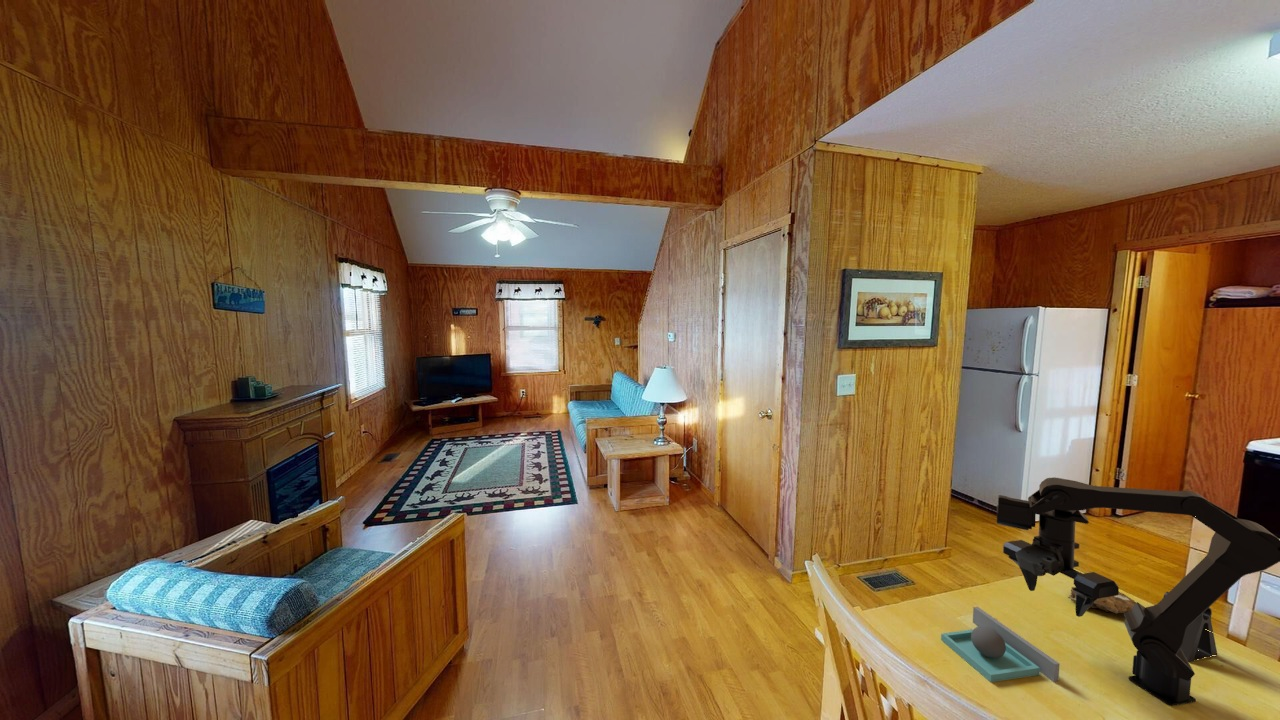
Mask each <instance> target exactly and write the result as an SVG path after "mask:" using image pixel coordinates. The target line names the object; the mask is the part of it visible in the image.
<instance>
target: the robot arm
mask: <svg viewBox="0 0 1280 720" xmlns="http://www.w3.org/2000/svg"><path fill="white" fill-rule="evenodd" d="M1038 488H1039V489H1038V490H1036V491H1035V492H1034V493H1032V494H1031V495H1029V496H1028V497H1027V500H1025V499H1019V498H1012V497H1009V496H1006V495H1001V494H998V495H997V496H998V497H997V499H998V500H997V503H998V504H997V505H996V525H1000V526H1004V527H1005V526H1006V527H1009V528H1016V529H1019V530H1024V531H1029V530H1032V529H1033V528H1036V515H1039V516H1038V535H1035V536H1033V538H1032V543H1029V542H1028V541H1025V540H1023V539H1020V540H1019V539H1017V540H1011V541H1006V542H1004V543H1003V545H1002V552H1003V554H1005V555H1007V556H1008V559H1010V560H1011V561H1012V562H1014V563H1015V564H1017V566H1018V567H1019V569H1020V571H1021V573H1022V576H1023V578H1024V581H1025V583H1026V586H1027V588H1028V590H1029V591H1030V592H1033V591H1035V590H1036V587H1037V583H1038V582H1037V581H1038V577H1044V576H1045V575H1046V574H1049V575H1051V576H1053V577H1054V576H1057V574H1062V575H1064V576H1066V577H1067V578H1070V579H1072V580H1073V585H1074V587H1076V588H1072V587H1071V589H1072V590H1073V591H1074V592H1075V593H1076V603H1075V608H1074V609H1075V616H1076V617H1078V618H1080V617H1083V616H1084V614H1086V612H1087V611H1088V610H1089V609H1090V608H1091V607H1090V606H1091V605H1092V604H1093V603H1094V602H1095V601H1096V600H1097V599H1098V598H1105V597H1111V596H1117V595H1118V593H1119V592H1120V591H1119V589H1120V588H1119V585H1118V584H1117V582H1115V580H1114V579H1111V578H1108V577H1106V576H1104V575H1102V574H1100V573H1097V572H1095V571H1091V572H1085V573H1083V572H1081V571H1078V570H1076V569H1075V568H1076V567H1079V566H1080V562H1079V561H1077V560H1075V550H1077V549H1080V543H1077V542H1076V538H1075V537H1076V523H1080V524H1085V525H1088V524H1089V522H1090V521H1089V519H1088V517H1087V515H1085V514H1084V513H1083V512H1081V511H1086V510H1092V509H1115V510H1125V511H1127V510H1128V511H1137V512H1148V513H1159V514H1160V513H1161V514H1172V515H1173V514H1174V515H1175V514H1176V515H1183V516H1184V515H1185V516H1190V517H1192V518H1194V519H1195V520H1197V521H1199V522H1200V523H1202V524H1203V525H1204V526H1206V527H1207V528H1209V529H1210V530H1212V531H1213V532H1214V534H1213V535H1212V537H1211V539H1210V544H1209V547H1208V552H1207V554H1206V555H1205V556H1204V558H1202V559H1201V561H1199V562H1198V563H1197V564H1196V565H1195V566H1194V567H1193V568H1192V569H1191V570H1189V572H1188V573H1187V574H1186V575H1185V576H1184V577H1183V578H1182V579H1181V580H1180V581H1179V582H1177V584H1176V585H1175V586H1174V587H1173V588H1172V589H1171V590H1170V591H1168V592H1169V593H1168V594H1167V595H1166V596H1165V597H1164V596H1163V597H1164V598H1162V599H1161V600H1160V601H1158V603H1156V604H1154V605H1151V606H1147V607H1146V606H1144V605H1142V604H1141V603H1140V602H1136V603H1135V605H1134V606H1133V608H1132V610H1131V611H1129V612H1126V613H1123V616H1124V618H1125V619H1124V625H1125V628H1126V630H1127V632H1128V635H1129V638H1130V640H1131V642H1132V645H1133V647H1134V648H1136V655H1133V657H1132V668H1131V669H1132V671H1131V673H1132V675H1129V676H1127V677H1128V680H1129V681H1130V682H1132V683H1133V684H1135V685H1137V686H1138V687H1140V689H1143V690H1145V691H1146V692H1148V693H1149V694H1151V695H1153V696H1154V697H1155V698H1157V699H1159V700H1160V701H1162V702H1163V703H1164V704H1167V705H1168V706H1171V707H1174V706H1180V705H1185V704H1192V703H1196V702H1197V699H1196V698H1195V697H1194V696H1192V695H1191V686H1192V685H1191V684H1192V678H1193V677H1194V675H1195V674H1196V673H1195V672H1194V669H1193V668H1192V666H1191V664H1190V662H1188V661H1187V659H1186V657H1185V655H1184V653H1183V652H1182V650H1181V647H1182V645H1183V642H1184V638H1185V634H1186V630H1187V628H1188V626H1189V625H1191V624H1192V623H1193V622H1194V621H1195V620H1196V619H1197V618H1198V617H1199V616H1200V615H1201V614H1202V613H1204V612H1205V611H1206V610H1207V609H1208V608H1211V606H1212V605H1214V603H1216V602H1217V600H1219V599H1221V597H1222V596H1223V595H1224V594H1226V593H1227V592H1228V590H1230V589H1231V588H1232V587H1233V586H1234V585H1235V584H1236V583H1238V581H1239V580H1240V579H1241V578H1243V577H1246V576H1247V575H1251V574H1254V573H1258V572H1262V571H1266V570H1268V569H1269V568H1271V567H1273V566H1275V565H1276V564H1279V563H1280V538H1279V537H1277V536H1276V535H1275V534H1273V533H1272V532H1270V531H1269V530H1268V529H1267V528H1265V527H1264V526H1263V525H1260V524H1259V523H1257V522H1255V521H1252V520H1248V519H1243V518H1238V517H1236V516H1235V515H1233V514H1231V513H1230V512H1228V511H1227V510H1225V509H1223V508H1222V507H1220V506H1218V505H1217V504H1215V503H1213V502H1211V501H1209V500H1208V499H1206V498H1205V497H1204V496H1203V495H1201V494H1200V493H1198V492H1196V491H1193V490H1164V489H1163V490H1162V489H1147V488H1131V487H1118V486H1117V487H1115V486H1114V487H1113V486H1098V485H1094V484H1093V485H1092V484H1088V483H1085V482H1082V481H1077V480H1071V479H1065V478H1061V477H1056V476H1054V477H1047V478H1045V479H1044V480H1043V481H1041V482H1040V484H1039V487H1038ZM1195 516H1196V517H1195ZM1089 607H1090V608H1089Z"/></svg>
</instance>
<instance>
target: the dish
mask: <svg viewBox="0 0 1280 720" xmlns="http://www.w3.org/2000/svg"><path fill="white" fill-rule="evenodd" d="M974 629H975V628H973V629H967V630H958V631H957V630H956V631H952V632H943V633H941V636H940V640H941V641H942V642H943V643H944V644H945V645H947V646H948V647H949V648H950V649H951V650H952V651H953V652H954V653H955V654H957V655H958V656H959V657H960V658H961V659H963V660H964V661H965V662H967V663H968V665H970V666H971V667H972V668H973V669H974V670H976V671H977V672H978V673H979V674H980V675H982V676H983V677H984V678H985V679H986V680H987V681H988V682H990V683H995V682H1000V681H1001V682H1002V681H1006V680H1007V681H1008V680H1015V679H1019V678H1028V677H1033V676H1040V668H1039V667H1038V666H1037V665H1035V664H1034V663H1033V662H1031V661H1030V660H1028V659H1027V658H1026V657H1024V656H1023V655H1022V654H1020V653H1019V652H1018V651H1016V650H1015V649H1013V648H1012V647H1011V646H1009V645H1008V644H1007V643H1005V645H1006V651H1005V653H1004V655H1003V656H1002V657H1000V658H989V657H987V656H985V655H983V654H981V653H980V652H979V651H978V650H977V649H976V648H975V646H974V645H973V643H972V640H971V633H972V631H973V630H974Z"/></svg>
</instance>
